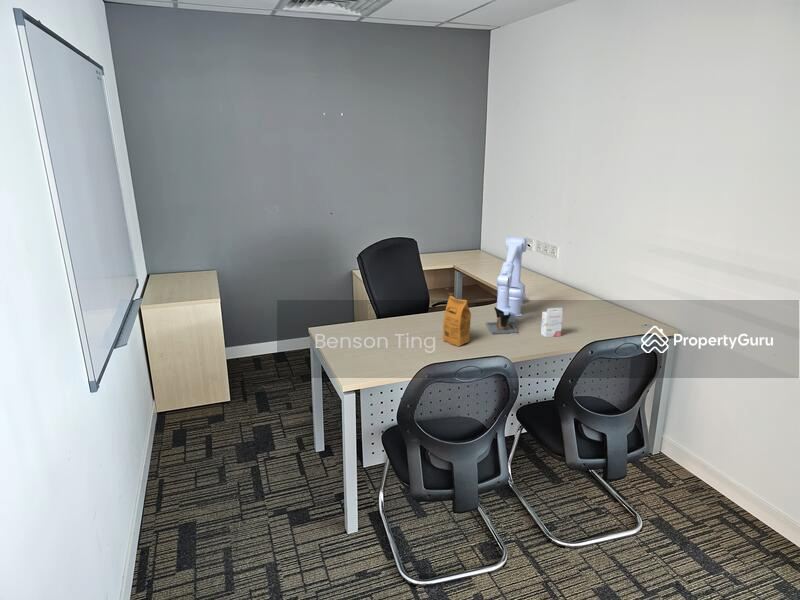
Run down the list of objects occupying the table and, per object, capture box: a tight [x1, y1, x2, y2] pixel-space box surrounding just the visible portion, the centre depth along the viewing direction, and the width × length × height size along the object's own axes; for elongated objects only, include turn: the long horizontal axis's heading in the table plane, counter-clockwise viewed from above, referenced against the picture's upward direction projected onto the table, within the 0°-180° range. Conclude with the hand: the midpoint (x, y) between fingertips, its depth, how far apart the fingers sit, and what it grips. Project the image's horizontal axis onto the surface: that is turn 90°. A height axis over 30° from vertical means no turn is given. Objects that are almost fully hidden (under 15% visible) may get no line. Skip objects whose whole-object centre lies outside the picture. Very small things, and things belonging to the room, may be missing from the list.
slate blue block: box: [508, 312, 516, 323], centre depth 277 cm, size 4×4×4 cm
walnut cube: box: [496, 316, 509, 330], centre depth 265 cm, size 5×5×5 cm
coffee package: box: [442, 295, 472, 347], centre depth 247 cm, size 10×12×22 cm
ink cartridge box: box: [540, 307, 564, 338], centre depth 256 cm, size 9×5×15 cm, turn 101°
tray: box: [485, 321, 519, 335], centre depth 266 cm, size 13×13×2 cm
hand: (501, 323), depth 265 cm, fingers open, 7 cm apart
